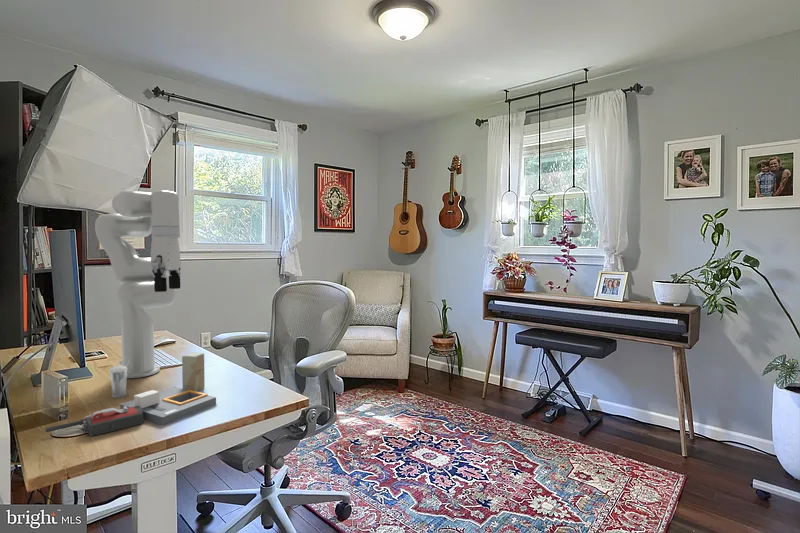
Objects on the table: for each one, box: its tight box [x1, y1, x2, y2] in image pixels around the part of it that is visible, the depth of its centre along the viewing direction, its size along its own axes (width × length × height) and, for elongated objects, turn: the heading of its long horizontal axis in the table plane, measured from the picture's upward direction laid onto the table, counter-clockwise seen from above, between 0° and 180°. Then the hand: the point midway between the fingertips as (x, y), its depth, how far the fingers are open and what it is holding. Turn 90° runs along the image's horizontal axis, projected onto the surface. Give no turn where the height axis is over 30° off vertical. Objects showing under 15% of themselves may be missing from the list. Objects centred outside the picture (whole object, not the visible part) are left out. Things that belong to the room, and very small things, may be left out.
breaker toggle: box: [133, 389, 160, 409], centre depth 118 cm, size 3×5×3 cm, turn 152°
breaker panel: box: [119, 386, 217, 426], centre depth 122 cm, size 18×16×2 cm
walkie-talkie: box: [44, 406, 144, 437], centre depth 108 cm, size 9×4×20 cm
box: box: [181, 352, 206, 392], centre depth 137 cm, size 5×4×11 cm
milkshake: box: [108, 361, 129, 399], centre depth 131 cm, size 4×5×10 cm
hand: (168, 290), depth 133 cm, fingers open, 9 cm apart
